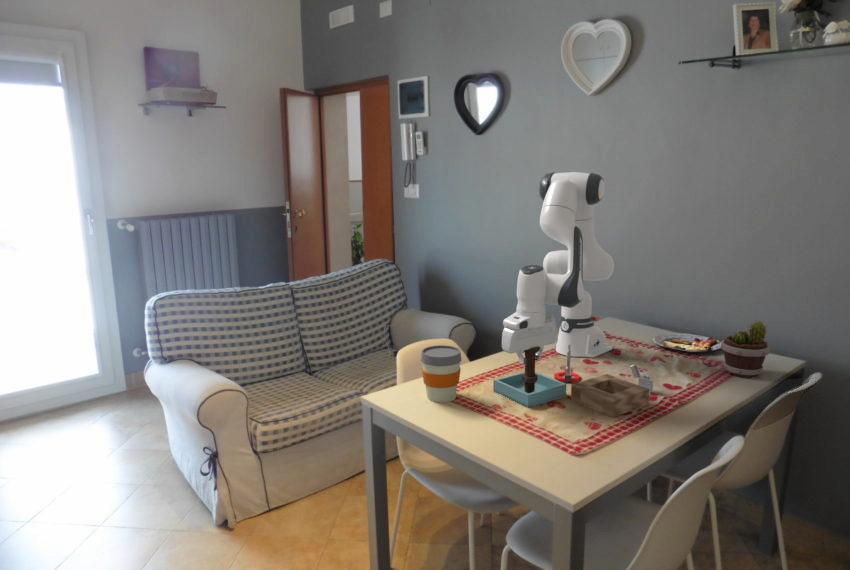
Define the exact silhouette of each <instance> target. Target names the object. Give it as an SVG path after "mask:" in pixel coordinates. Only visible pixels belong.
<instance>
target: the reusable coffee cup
mask: <svg viewBox="0 0 850 570" xmlns="http://www.w3.org/2000/svg"><path fill="white" fill-rule="evenodd" d="M420 361H421V364H422V367H421V374H422V380H423V384H424V385H425V391H426V398H427V399H428V400H429V401H430V402H433V403H450V402H452V401H454V400H455V399H456V397H457V390H458V389H457V388H458V384H459V383H460V377H461V362H462V354H461V350H460V349H459V348H458V347H456V346H452V345H441V344H439V345H431V346H428V347H425V348H423V349H422V350H421V355H420Z"/></svg>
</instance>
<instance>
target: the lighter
mask: <svg viewBox="0 0 850 570" xmlns="http://www.w3.org/2000/svg"><path fill="white" fill-rule="evenodd" d="M629 368H630V370H631V373H632V375H633V377H634V379H637V381H638V383H637V385H640V386H642V387H645V388H648V389H649V394H652V393H653V389H654V379H653V378H651V376H650V375H647V374H642V376H641V374H640V371H639V369H638V366H637V363H635V364H631V365H630V366H629ZM651 392H652V393H651Z"/></svg>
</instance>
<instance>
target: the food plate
mask: <svg viewBox="0 0 850 570" xmlns="http://www.w3.org/2000/svg"><path fill="white" fill-rule="evenodd" d="M680 339H687V340H694V341H693V342H692V341H687V340H686V341H685V340H680ZM703 341H704V342H703ZM653 342H654V343H655V344H657V345H659V346H661V347H665V348H669V349H670V350H678V351H684V352H691V353H708V352H715V351H718V350H722V349H721V342H722V340H721V341H720V340H718V339H717V338H712V337H711V336H710V337H709V336H705V335H699V334H694V333H693V334H691V333H683V332H682V333H680V332H679V333H677V332H676V333H663V334H659V335H657V336H654V337H653ZM690 345H692V346H690ZM711 347H712V348H711Z"/></svg>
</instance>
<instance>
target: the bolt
mask: <svg viewBox="0 0 850 570" xmlns="http://www.w3.org/2000/svg"><path fill="white" fill-rule="evenodd" d="M538 351H540V347H539V346H538V347H533V348H530V349H528V350H524V358H526V363H524V372H525V374H523V375H522V381H523V382H525V383H524V384H525V385H524V391H525V392H527V393H532V392H534V390H535V382H536V381H537V380H538V376H537V375H536V374H535V372H536V360H535V356H536V353H537V352H538Z"/></svg>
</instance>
